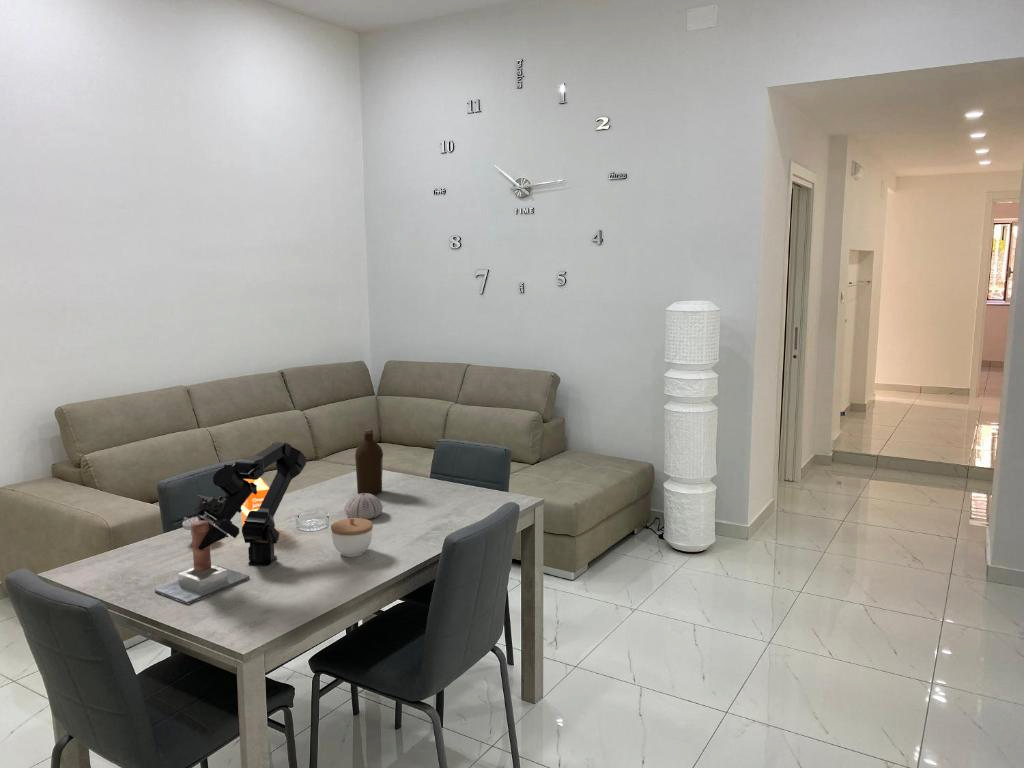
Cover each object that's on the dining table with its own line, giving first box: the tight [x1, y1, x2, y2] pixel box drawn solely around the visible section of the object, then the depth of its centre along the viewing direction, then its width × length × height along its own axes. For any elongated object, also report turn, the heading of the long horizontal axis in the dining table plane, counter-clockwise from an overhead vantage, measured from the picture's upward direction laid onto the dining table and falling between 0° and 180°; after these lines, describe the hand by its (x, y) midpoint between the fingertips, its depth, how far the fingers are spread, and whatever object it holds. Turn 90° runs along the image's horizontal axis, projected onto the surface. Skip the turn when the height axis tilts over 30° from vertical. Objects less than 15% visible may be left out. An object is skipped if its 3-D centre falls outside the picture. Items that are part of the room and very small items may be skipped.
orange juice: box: [240, 477, 270, 527], centre depth 256 cm, size 8×9×20 cm
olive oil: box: [354, 428, 384, 496], centre depth 297 cm, size 11×11×25 cm
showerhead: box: [182, 516, 215, 536], centre depth 246 cm, size 9×7×10 cm
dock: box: [154, 564, 251, 605], centre depth 212 cm, size 20×14×4 cm
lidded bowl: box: [330, 517, 374, 558], centre depth 237 cm, size 13×13×11 cm
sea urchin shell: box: [344, 493, 383, 520], centre depth 272 cm, size 13×14×8 cm
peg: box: [190, 520, 212, 571], centre depth 211 cm, size 4×4×13 cm
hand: (196, 546), depth 210 cm, fingers closed on peg, 4 cm apart
